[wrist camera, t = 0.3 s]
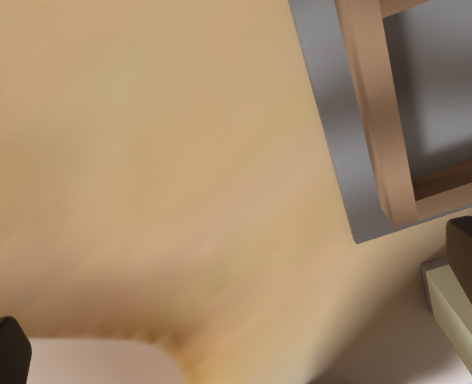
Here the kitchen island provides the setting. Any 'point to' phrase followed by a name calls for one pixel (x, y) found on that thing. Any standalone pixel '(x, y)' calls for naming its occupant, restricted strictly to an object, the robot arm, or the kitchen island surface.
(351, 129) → the socket
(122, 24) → the kitchen island surface
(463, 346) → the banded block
